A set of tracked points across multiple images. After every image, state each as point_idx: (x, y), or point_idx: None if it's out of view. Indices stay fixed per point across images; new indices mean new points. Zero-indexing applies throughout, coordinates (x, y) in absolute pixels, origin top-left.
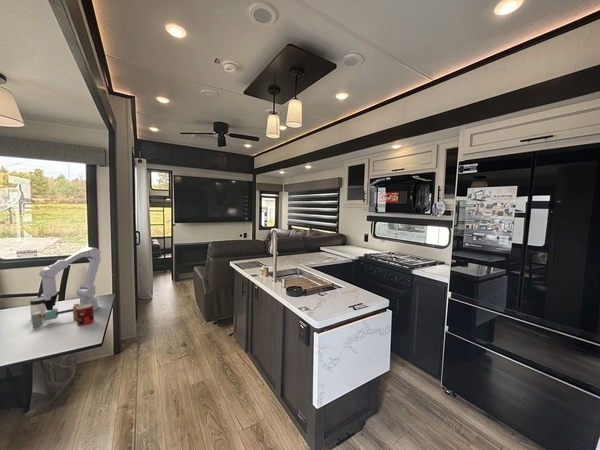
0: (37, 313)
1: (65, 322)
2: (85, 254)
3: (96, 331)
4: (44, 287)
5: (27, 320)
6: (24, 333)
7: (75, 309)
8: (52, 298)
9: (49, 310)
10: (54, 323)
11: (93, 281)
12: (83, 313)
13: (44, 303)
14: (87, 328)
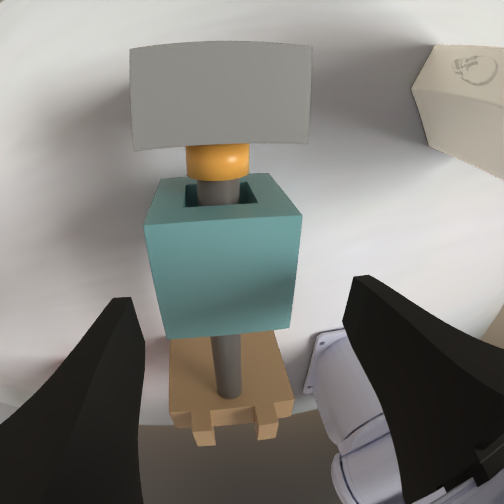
0: (172, 117)
1: (153, 297)
2: None
3: (4, 397)
4: None
5: (423, 22)
6: (58, 55)
7: (172, 419)
8: (417, 420)
9: (236, 266)
10: None
11: None
12: None
13: (6, 429)
14: (28, 383)
